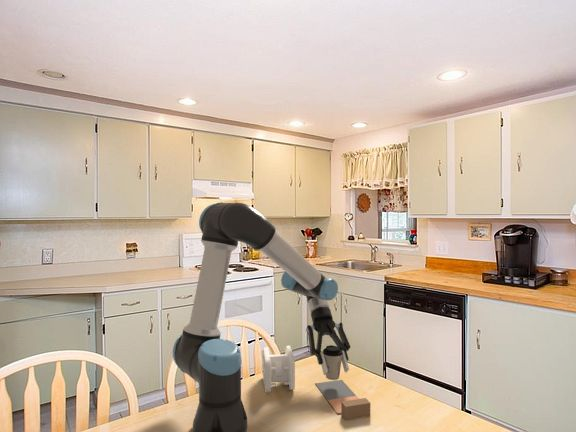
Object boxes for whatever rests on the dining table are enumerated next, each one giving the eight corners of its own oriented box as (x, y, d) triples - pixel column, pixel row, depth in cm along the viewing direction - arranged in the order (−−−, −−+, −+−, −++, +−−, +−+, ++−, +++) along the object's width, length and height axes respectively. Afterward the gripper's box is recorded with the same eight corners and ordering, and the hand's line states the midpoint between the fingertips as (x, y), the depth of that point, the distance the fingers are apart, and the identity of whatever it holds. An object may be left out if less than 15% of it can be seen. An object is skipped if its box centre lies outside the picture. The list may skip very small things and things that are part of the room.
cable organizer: (295, 394, 125) (295, 360, 124) (263, 396, 123) (263, 361, 123) (290, 374, 139) (289, 343, 139) (261, 376, 138) (261, 345, 138)
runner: (373, 415, 112) (373, 402, 112) (342, 420, 109) (342, 407, 109) (341, 380, 134) (341, 369, 134) (315, 384, 132) (315, 372, 132)
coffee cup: (346, 379, 127) (346, 350, 127) (328, 383, 125) (328, 353, 124) (336, 371, 134) (336, 343, 133) (318, 374, 131) (319, 346, 131)
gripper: (341, 314, 146) (360, 373, 131) (292, 318, 141) (305, 379, 126) (347, 304, 141) (367, 364, 126) (296, 307, 136) (311, 370, 120)
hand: (336, 372), depth 126 cm, fingers closed on coffee cup, 7 cm apart
